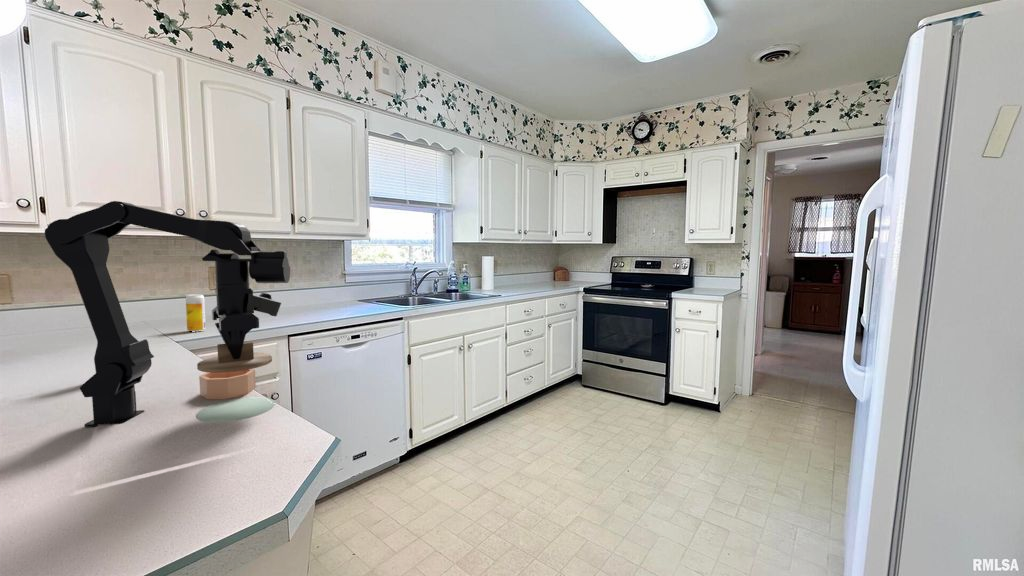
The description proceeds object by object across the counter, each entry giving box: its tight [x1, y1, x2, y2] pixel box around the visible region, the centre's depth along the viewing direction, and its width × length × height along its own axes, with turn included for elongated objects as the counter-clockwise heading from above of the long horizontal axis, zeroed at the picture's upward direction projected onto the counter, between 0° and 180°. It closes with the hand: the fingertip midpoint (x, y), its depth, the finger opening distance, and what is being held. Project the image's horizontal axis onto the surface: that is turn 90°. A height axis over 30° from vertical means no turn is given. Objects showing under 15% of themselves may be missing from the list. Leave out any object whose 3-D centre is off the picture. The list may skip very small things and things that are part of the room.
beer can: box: [185, 293, 207, 332], centre depth 170 cm, size 6×6×15 cm
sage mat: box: [195, 396, 276, 423], centre depth 88 cm, size 14×14×1 cm
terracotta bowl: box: [199, 368, 257, 400], centre depth 98 cm, size 10×10×5 cm
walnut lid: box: [196, 340, 273, 373], centre depth 87 cm, size 13×13×4 cm
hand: (235, 357), depth 87 cm, fingers closed on walnut lid, 2 cm apart
